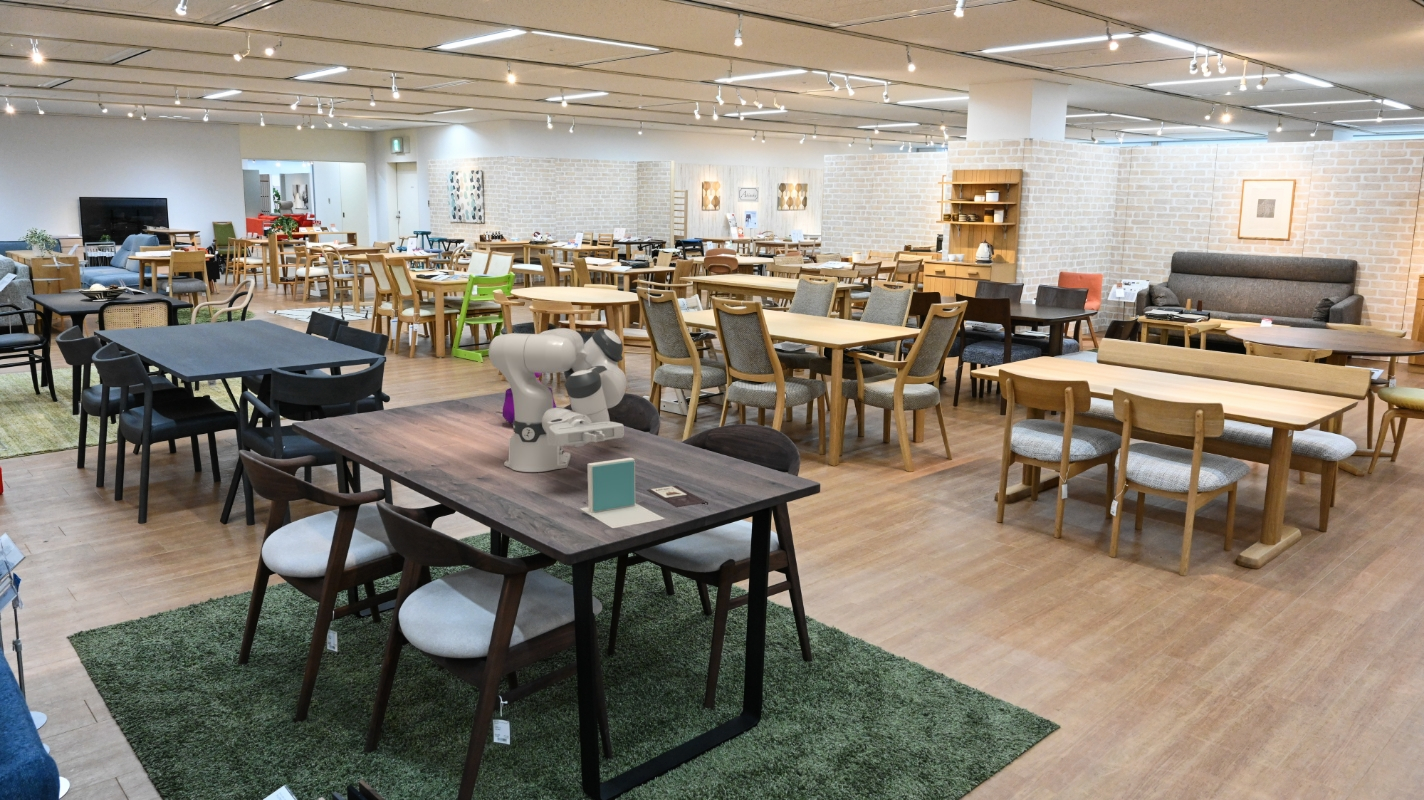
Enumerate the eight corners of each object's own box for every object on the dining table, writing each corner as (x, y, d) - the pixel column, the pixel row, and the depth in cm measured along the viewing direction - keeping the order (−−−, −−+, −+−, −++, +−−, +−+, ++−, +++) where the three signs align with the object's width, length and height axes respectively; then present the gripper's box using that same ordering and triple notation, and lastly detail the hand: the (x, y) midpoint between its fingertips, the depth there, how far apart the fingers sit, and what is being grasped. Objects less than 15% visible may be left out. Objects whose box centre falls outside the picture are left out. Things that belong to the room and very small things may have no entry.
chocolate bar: (676, 507, 245) (646, 489, 261) (676, 510, 245) (646, 493, 261) (707, 502, 250) (676, 485, 265) (707, 505, 250) (676, 489, 265)
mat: (579, 510, 244) (579, 508, 244) (629, 502, 251) (629, 500, 251) (612, 530, 229) (612, 528, 229) (665, 520, 236) (665, 518, 236)
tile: (588, 510, 242) (587, 463, 240) (631, 503, 248) (631, 457, 246) (592, 513, 240) (591, 465, 238) (636, 505, 246) (635, 459, 244)
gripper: (610, 436, 270) (635, 445, 258) (542, 445, 258) (564, 455, 247) (610, 414, 269) (635, 421, 257) (541, 422, 257) (563, 431, 246)
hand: (599, 438), depth 252 cm, fingers closed
